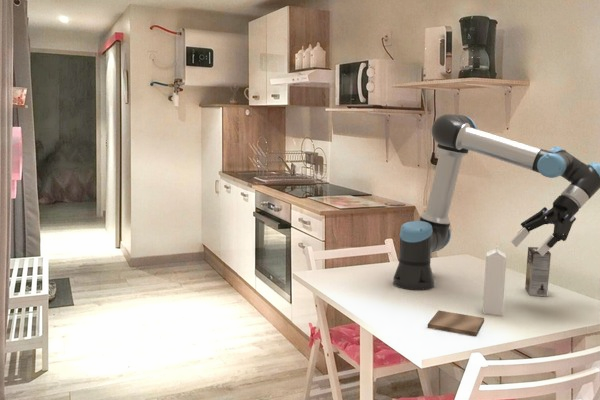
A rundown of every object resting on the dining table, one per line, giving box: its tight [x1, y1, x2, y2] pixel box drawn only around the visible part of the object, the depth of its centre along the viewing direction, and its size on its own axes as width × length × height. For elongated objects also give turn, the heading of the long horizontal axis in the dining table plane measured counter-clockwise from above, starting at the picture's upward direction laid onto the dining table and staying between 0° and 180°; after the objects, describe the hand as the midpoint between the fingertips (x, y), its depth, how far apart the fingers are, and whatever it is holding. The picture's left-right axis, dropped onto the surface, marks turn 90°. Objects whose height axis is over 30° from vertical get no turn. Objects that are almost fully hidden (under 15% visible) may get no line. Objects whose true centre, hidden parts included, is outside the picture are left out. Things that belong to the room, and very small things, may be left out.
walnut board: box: [427, 310, 485, 337], centre depth 168 cm, size 14×14×1 cm
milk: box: [482, 243, 507, 317], centre depth 179 cm, size 6×6×22 cm
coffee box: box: [524, 246, 552, 298], centre depth 202 cm, size 9×6×16 cm
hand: (526, 248), depth 181 cm, fingers open, 13 cm apart
